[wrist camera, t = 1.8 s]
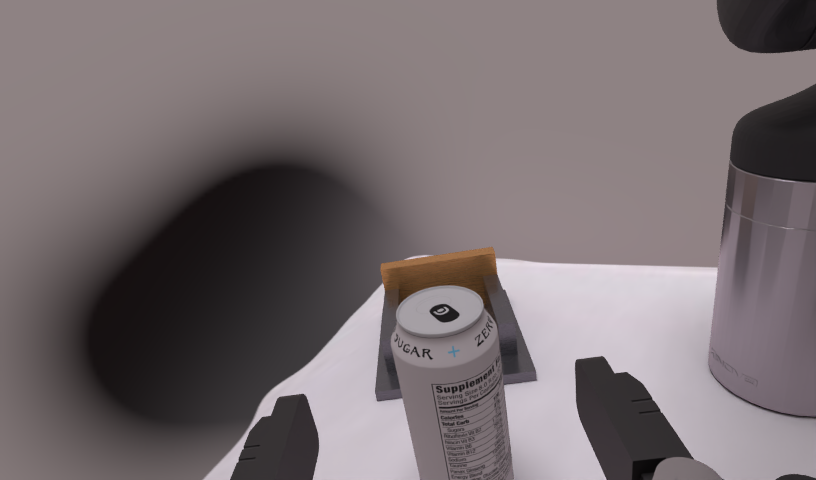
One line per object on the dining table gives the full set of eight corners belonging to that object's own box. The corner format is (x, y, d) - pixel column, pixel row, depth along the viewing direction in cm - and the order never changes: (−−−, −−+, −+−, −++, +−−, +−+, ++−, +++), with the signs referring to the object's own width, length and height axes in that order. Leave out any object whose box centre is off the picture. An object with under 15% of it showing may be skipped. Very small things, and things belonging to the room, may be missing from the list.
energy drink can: (480, 446, 35) (455, 270, 29) (535, 507, 30) (518, 309, 24) (410, 487, 33) (367, 306, 27) (457, 560, 28) (418, 357, 22)
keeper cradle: (505, 297, 53) (500, 241, 51) (536, 380, 40) (531, 311, 38) (384, 314, 54) (372, 260, 51) (377, 400, 41) (361, 335, 39)
